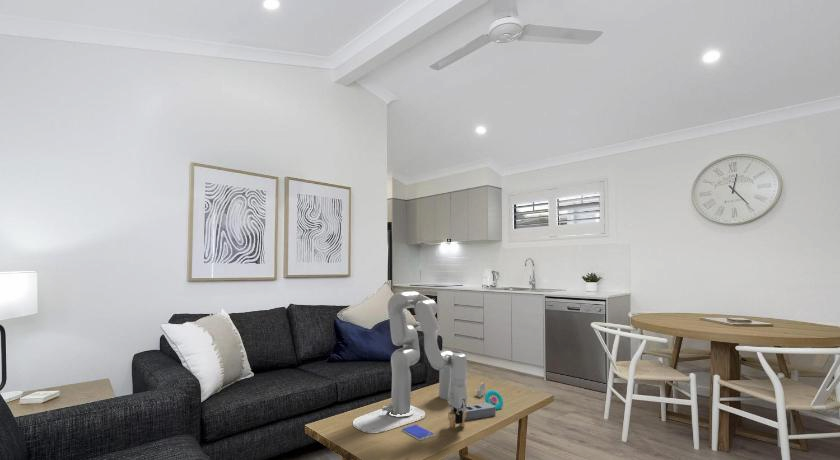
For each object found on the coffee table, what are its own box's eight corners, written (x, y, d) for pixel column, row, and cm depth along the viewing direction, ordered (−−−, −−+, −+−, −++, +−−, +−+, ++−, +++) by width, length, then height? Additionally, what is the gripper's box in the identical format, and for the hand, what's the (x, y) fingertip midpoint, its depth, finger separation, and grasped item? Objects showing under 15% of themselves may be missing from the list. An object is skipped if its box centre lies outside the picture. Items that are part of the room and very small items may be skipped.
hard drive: (434, 433, 184) (416, 424, 193) (420, 437, 178) (402, 428, 188) (434, 436, 184) (415, 427, 193) (420, 441, 178) (402, 432, 188)
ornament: (500, 396, 228) (483, 391, 228) (503, 393, 225) (486, 387, 225) (499, 415, 220) (481, 409, 220) (502, 412, 217) (484, 406, 217)
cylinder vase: (461, 394, 242) (462, 350, 243) (461, 401, 229) (462, 355, 231) (439, 393, 243) (440, 349, 245) (438, 400, 230) (439, 353, 232)
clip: (451, 429, 191) (451, 414, 191) (447, 427, 193) (448, 412, 194) (466, 426, 194) (466, 412, 195) (462, 424, 197) (462, 410, 197)
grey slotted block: (458, 421, 200) (458, 412, 201) (450, 416, 207) (450, 408, 207) (495, 415, 210) (495, 406, 211) (487, 410, 216) (487, 402, 217)
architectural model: (474, 396, 240) (474, 383, 240) (480, 393, 245) (480, 380, 246) (480, 398, 238) (480, 384, 238) (485, 395, 243) (485, 382, 244)
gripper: (442, 377, 201) (441, 416, 199) (460, 386, 186) (459, 429, 185) (455, 375, 204) (454, 414, 203) (474, 385, 190) (473, 427, 188)
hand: (457, 421), depth 194 cm, fingers closed on clip, 3 cm apart
